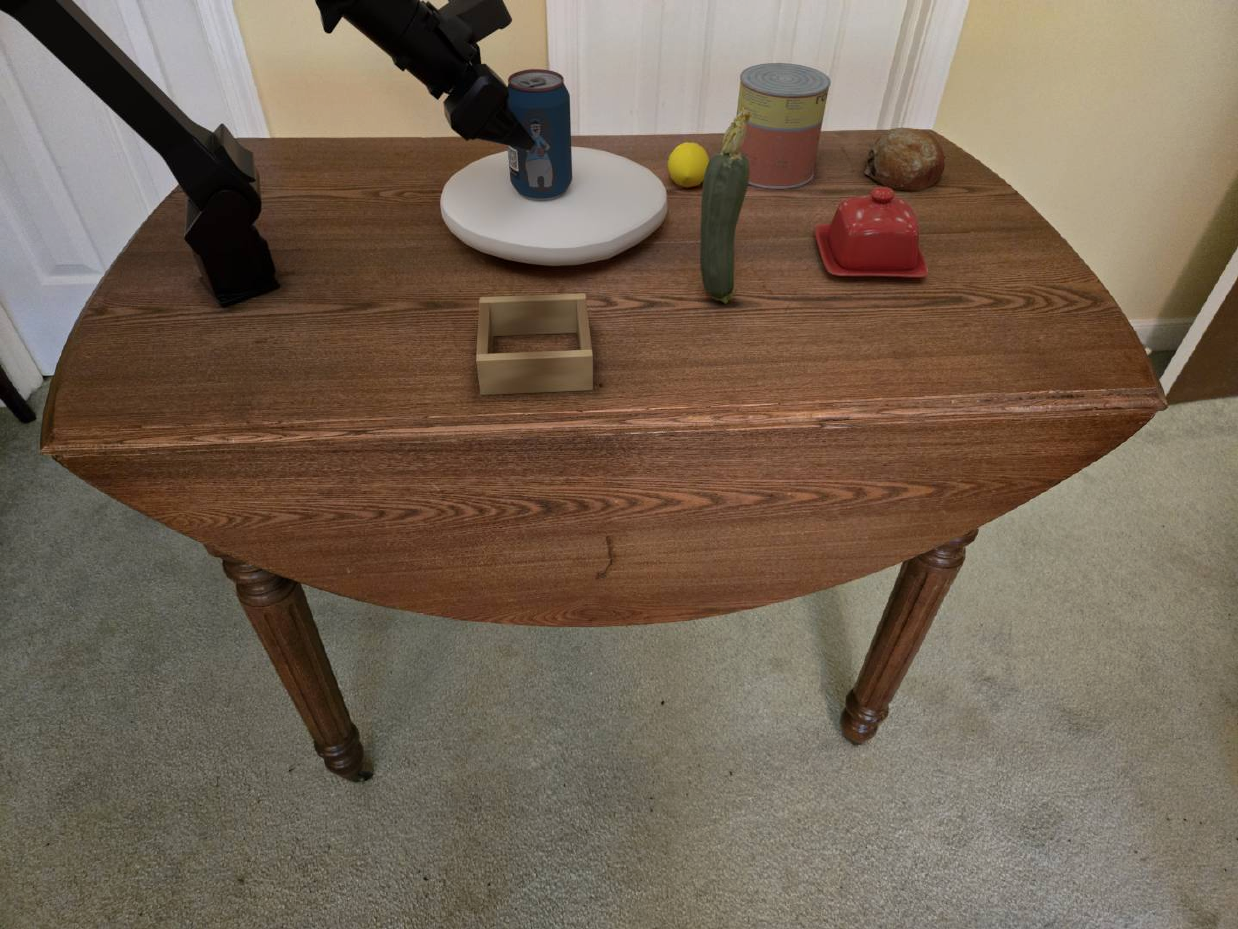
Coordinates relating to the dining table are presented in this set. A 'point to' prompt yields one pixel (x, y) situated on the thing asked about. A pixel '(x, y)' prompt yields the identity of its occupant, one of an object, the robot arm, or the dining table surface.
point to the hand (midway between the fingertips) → (521, 129)
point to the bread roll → (905, 159)
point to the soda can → (541, 134)
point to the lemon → (688, 164)
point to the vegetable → (723, 210)
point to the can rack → (534, 367)
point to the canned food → (782, 122)
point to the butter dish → (872, 238)
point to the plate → (555, 210)
